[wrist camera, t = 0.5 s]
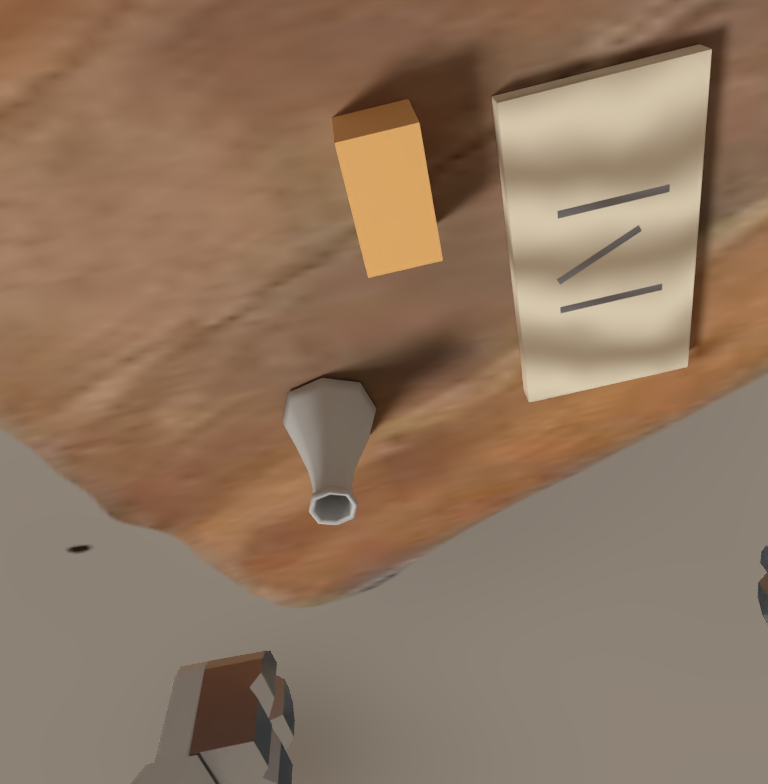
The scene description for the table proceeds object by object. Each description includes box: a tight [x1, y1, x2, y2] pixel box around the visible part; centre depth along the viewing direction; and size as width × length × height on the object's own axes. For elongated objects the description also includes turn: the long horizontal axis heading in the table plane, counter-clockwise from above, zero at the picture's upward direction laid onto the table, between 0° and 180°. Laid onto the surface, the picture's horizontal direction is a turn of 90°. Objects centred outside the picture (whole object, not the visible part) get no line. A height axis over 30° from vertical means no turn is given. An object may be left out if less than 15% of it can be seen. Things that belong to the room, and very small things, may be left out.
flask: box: [283, 378, 376, 525], centre depth 48 cm, size 7×7×10 cm
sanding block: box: [332, 99, 443, 278], centre depth 39 cm, size 8×4×5 cm, turn 12°
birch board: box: [491, 44, 712, 402], centre depth 44 cm, size 22×12×2 cm, turn 12°
